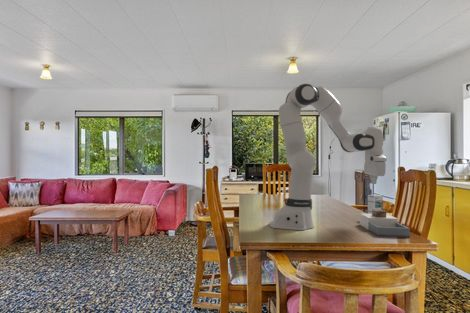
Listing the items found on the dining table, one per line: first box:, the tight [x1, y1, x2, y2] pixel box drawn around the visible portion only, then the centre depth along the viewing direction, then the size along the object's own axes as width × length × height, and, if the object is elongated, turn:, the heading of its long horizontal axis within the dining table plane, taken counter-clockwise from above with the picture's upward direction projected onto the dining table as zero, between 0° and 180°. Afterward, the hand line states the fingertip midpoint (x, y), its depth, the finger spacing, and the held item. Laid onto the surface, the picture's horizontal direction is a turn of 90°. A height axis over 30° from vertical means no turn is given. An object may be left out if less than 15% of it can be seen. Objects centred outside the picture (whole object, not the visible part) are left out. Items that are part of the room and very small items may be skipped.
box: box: [368, 222, 411, 238], centre depth 148 cm, size 14×12×4 cm
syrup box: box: [367, 194, 384, 214], centre depth 179 cm, size 6×6×14 cm
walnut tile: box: [372, 209, 387, 217], centre depth 159 cm, size 5×5×3 cm
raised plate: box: [359, 212, 399, 231], centre depth 160 cm, size 14×12×6 cm
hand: (373, 183), depth 167 cm, fingers closed
